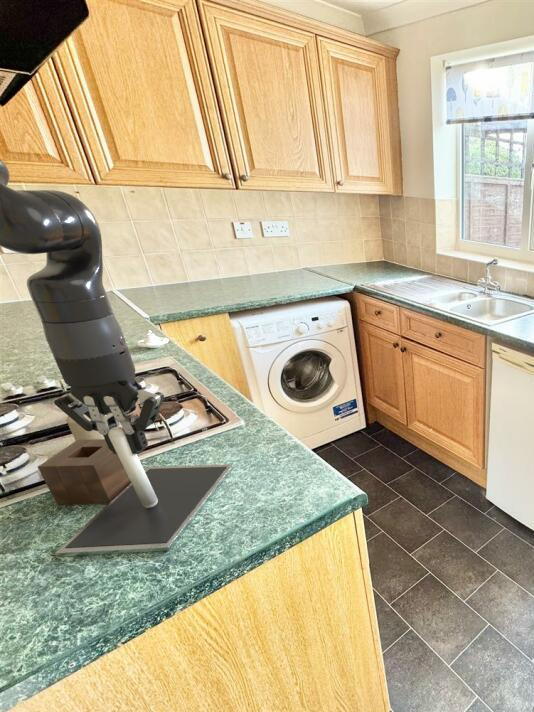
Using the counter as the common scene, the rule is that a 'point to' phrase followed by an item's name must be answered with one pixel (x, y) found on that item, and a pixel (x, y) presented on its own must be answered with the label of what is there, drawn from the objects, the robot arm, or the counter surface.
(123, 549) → the tablet
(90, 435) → the candle
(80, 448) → the stand
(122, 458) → the white rod
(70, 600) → the counter surface
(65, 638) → the counter surface
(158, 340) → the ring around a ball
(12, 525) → the counter surface
